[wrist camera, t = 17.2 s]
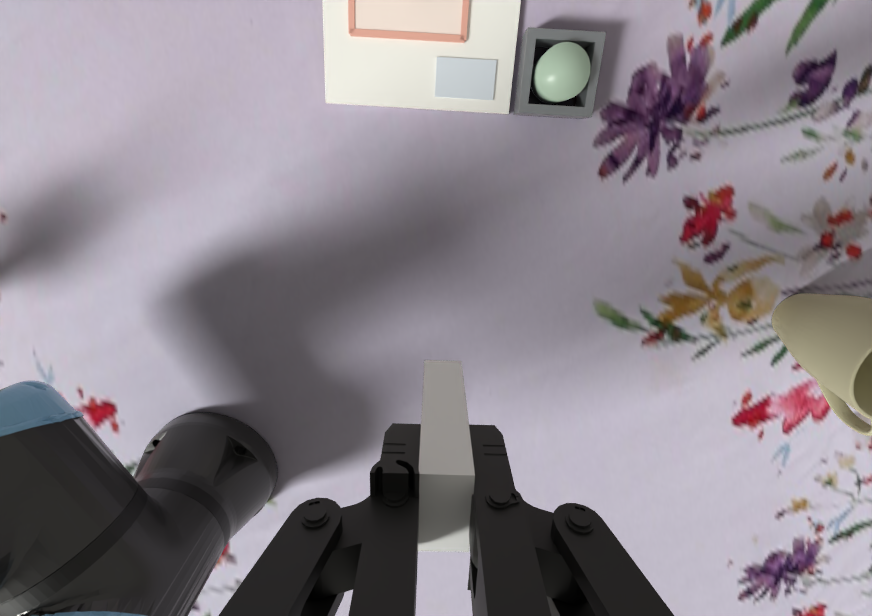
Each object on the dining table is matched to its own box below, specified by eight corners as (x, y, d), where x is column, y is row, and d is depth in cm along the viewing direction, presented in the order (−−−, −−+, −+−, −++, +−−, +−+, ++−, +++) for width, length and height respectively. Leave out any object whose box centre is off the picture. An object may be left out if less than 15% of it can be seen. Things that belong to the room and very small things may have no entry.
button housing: (513, 114, 38) (518, 112, 36) (522, 36, 36) (528, 27, 33) (581, 118, 38) (591, 117, 36) (594, 40, 36) (606, 32, 33)
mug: (724, 328, 45) (815, 391, 34) (807, 255, 42) (936, 296, 31) (791, 386, 47) (897, 462, 36) (874, 319, 44) (1018, 380, 33)
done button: (527, 102, 38) (534, 98, 34) (533, 49, 36) (541, 40, 33) (573, 105, 38) (585, 101, 34) (581, 52, 36) (594, 43, 33)
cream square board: (327, 103, 39) (324, 102, 38) (320, -130, 33) (317, -138, 32) (507, 114, 38) (509, 113, 38) (532, -118, 33) (534, -125, 32)
